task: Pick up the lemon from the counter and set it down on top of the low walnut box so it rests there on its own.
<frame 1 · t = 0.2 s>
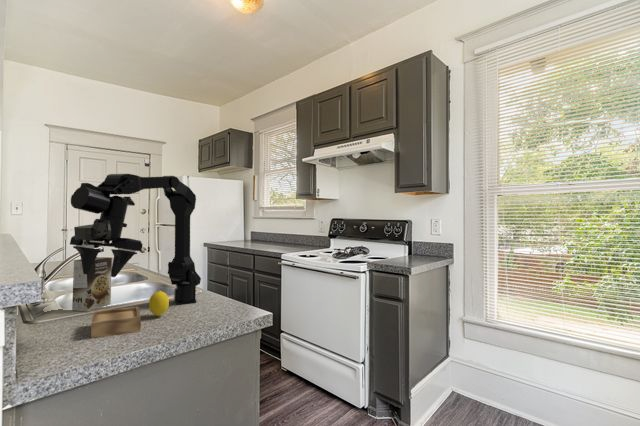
hand: (99, 275, 88), 15 cm above the worktop, tool pointing down, fingers open, 9 cm apart
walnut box: (116, 329, 92), on the worktop
lemon: (158, 317, 102), on the worktop
cookie box: (92, 307, 110), on the worktop
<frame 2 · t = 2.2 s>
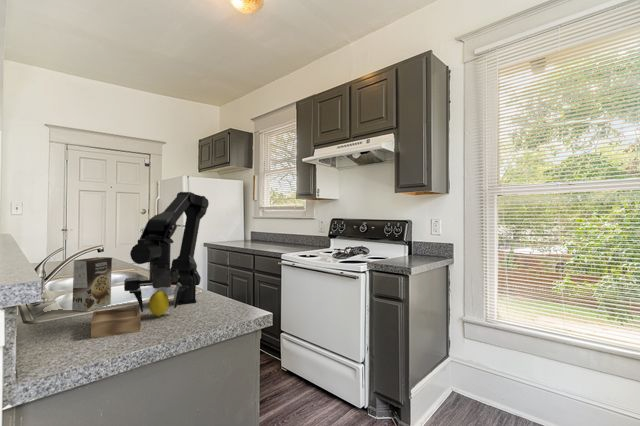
hand: (158, 309, 102), 2 cm above the worktop, tool pointing down, fingers open, 9 cm apart
nothing on the worktop moved.
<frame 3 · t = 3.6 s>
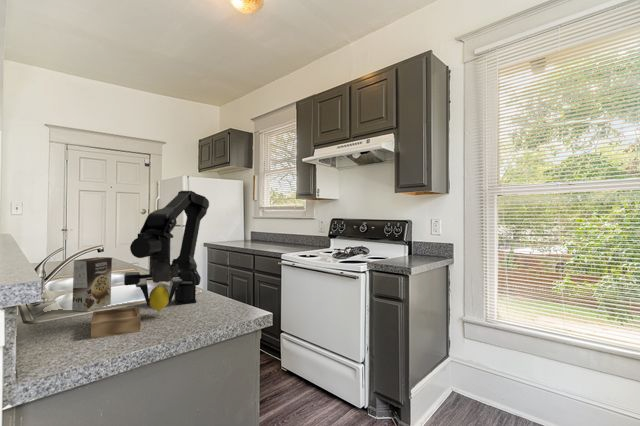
hand: (158, 304, 102), 4 cm above the worktop, tool pointing down, fingers closed on lemon, 5 cm apart
lemon: (158, 311, 102), point 1 cm above the worktop, touching gripper
everything else where it was.
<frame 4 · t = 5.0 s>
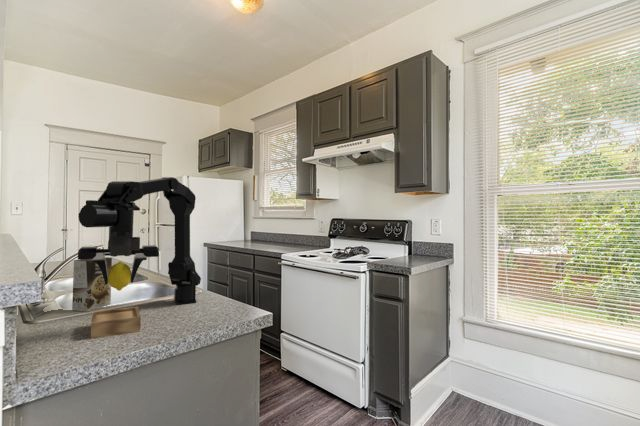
hand: (119, 283, 92), 12 cm above the worktop, tool pointing down, fingers closed on lemon, 5 cm apart
lemon: (119, 291, 92), point 10 cm above the worktop, touching gripper
everything else where it was.
when the fingers open (6 cm above the worktop, at t = 7.2 s): lemon drops 1 cm, resting on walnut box.
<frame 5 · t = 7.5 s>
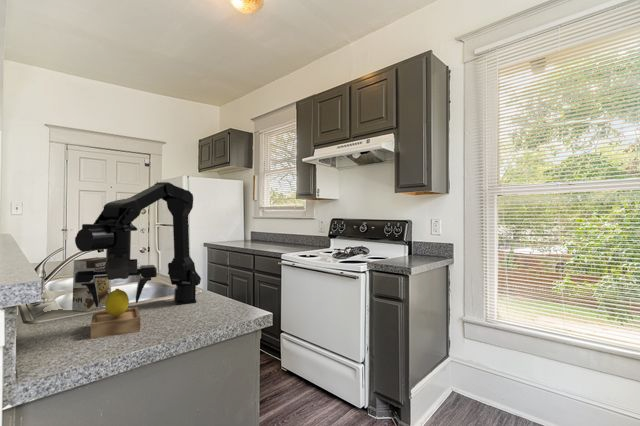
hand: (117, 304, 92), 6 cm above the worktop, tool pointing down, fingers open, 9 cm apart
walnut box: (116, 330, 91), on the worktop, touching lemon
lemon: (116, 318, 92), point 3 cm above the worktop, touching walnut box
everything else where it was.
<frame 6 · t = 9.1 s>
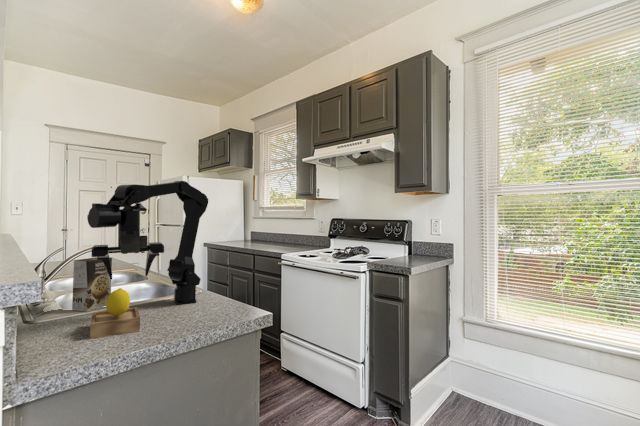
hand: (129, 277, 101), 12 cm above the worktop, tool pointing down, fingers open, 9 cm apart
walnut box: (115, 330, 91), on the worktop
lemon: (116, 318, 91), point 3 cm above the worktop
everything else where it was.
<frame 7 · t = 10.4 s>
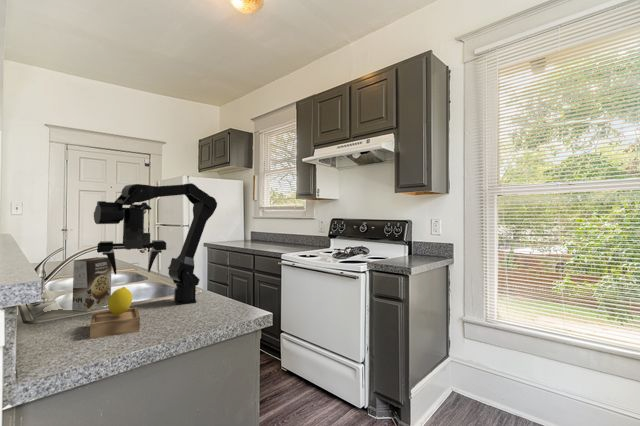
hand: (132, 273, 106), 13 cm above the worktop, tool pointing down, fingers open, 9 cm apart
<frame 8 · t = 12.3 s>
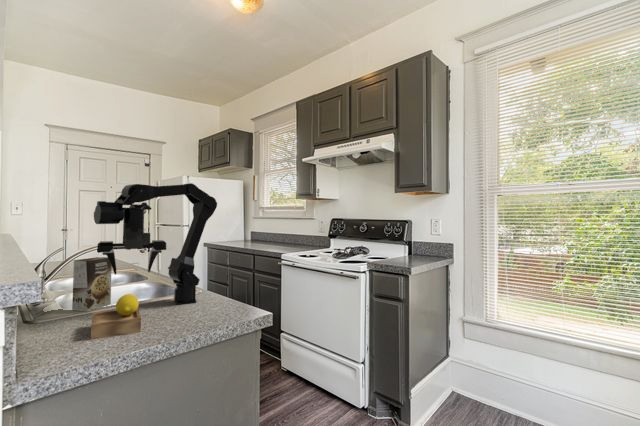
hand: (132, 273, 106), 13 cm above the worktop, tool pointing down, fingers open, 9 cm apart
lemon: (125, 310, 90), point 5 cm above the worktop
everything else where it was.
at the end: lemon 2.8 cm from the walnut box (horizontally); lemon inside the target area on the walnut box (2.9 cm from its centre), point 5.8 cm above the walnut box's base; lemon touching nothing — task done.
